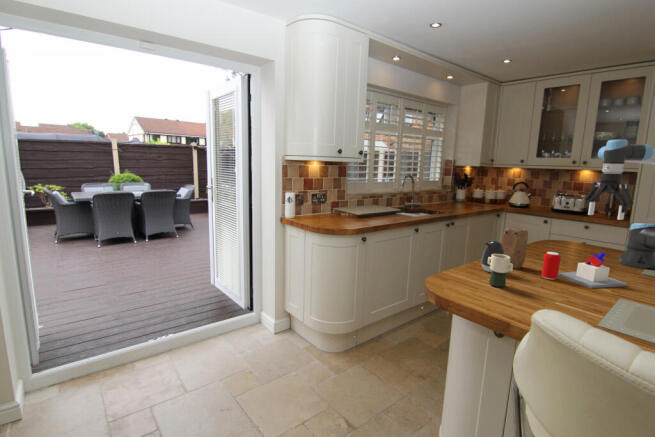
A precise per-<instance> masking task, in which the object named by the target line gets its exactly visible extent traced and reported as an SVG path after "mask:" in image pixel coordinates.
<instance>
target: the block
mask: <svg viewBox="0 0 655 437" xmlns="http://www.w3.org/2000/svg"><path fill="white" fill-rule="evenodd" d="M528 240H529V231H528V230H527V229H525V228H522V227H518V226H517V227H516V226H510V227H507V228H505V230H504V231H503V233H502V236H501V242H500V243H501V245H502V247H503V251H504V255H507V256H509V257H510V263H512V264H513V269H514V270H515V269H516V270H517V269H521V268H522V267H523V264H524V263H525V261H526V254H527V247H528Z"/></svg>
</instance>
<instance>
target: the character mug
mask: <svg viewBox="0 0 655 437" xmlns="http://www.w3.org/2000/svg"><path fill="white" fill-rule="evenodd" d="M490 259H491V263H490ZM488 264H489V265H490V269H491V270H492V273H490V277H489V281H488V284H490V286H493V287H494V286H495V287H500V288H502V287H506V284H507V282H506V280H507V278H506V273H508V272H513V269H514V268H513V264H512V263H510V257H509V256H507V255H503V254H492V256H491V257H488Z"/></svg>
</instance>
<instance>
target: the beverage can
mask: <svg viewBox="0 0 655 437" xmlns="http://www.w3.org/2000/svg"><path fill="white" fill-rule="evenodd" d="M560 266H561V255H560V254H559V253H558V252H556V251H555V252H554V251H547V252H546V253H545V254H544V256H543V263H542V270H541V277H543V278H544V279H546V280H550V281H551V280H552V281H553V280H554V281H555V280H556V279H558V277H559V276H558V273H559V269H560Z"/></svg>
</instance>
